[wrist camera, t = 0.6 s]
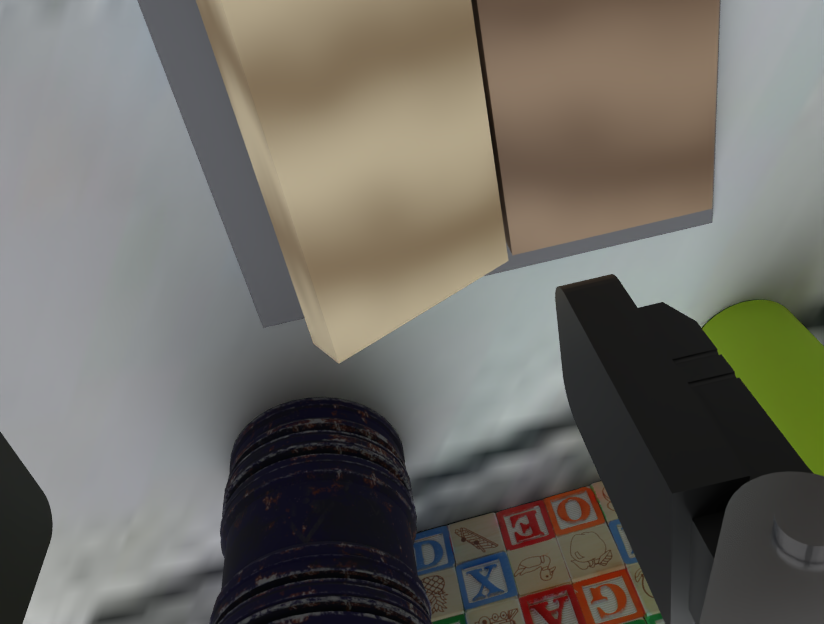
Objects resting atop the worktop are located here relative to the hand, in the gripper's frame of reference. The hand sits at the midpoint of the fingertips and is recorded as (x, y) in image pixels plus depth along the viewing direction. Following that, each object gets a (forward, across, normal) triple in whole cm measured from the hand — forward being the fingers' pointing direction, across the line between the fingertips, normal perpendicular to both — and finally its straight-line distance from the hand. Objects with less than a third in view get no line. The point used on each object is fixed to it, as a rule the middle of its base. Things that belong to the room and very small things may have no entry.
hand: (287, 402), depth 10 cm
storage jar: (+23, +5, +23) cm, 33 cm away
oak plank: (+19, -1, 0) cm, 19 cm away
